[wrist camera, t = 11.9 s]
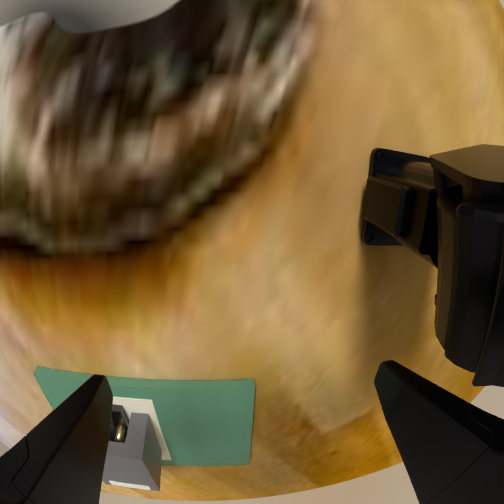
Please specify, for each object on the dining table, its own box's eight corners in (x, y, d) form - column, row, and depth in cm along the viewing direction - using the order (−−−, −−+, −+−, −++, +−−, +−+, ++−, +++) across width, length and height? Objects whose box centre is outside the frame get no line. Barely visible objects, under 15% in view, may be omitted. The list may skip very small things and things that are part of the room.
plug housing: (148, 413, 22) (141, 460, 17) (162, 451, 24) (159, 491, 20) (91, 407, 21) (78, 450, 16) (112, 446, 24) (105, 484, 19)
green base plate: (253, 378, 23) (255, 388, 22) (248, 457, 28) (249, 464, 27) (37, 366, 20) (33, 374, 19) (83, 447, 25) (82, 454, 24)
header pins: (122, 405, 21) (117, 427, 19) (144, 454, 24) (141, 472, 22) (109, 403, 21) (104, 425, 19) (133, 453, 24) (131, 471, 22)
